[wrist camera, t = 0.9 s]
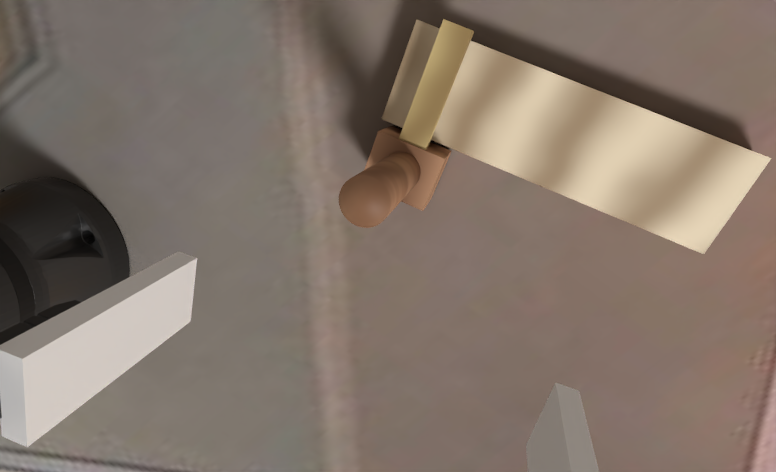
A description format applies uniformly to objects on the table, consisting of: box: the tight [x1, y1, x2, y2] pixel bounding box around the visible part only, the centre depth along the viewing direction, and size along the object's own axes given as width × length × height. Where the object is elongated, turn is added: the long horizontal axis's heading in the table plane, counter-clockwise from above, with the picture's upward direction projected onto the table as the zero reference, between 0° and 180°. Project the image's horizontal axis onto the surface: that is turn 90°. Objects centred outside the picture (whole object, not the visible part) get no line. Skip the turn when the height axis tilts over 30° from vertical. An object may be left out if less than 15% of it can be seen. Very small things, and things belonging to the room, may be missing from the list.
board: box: [382, 20, 771, 254], centre depth 32 cm, size 24×7×2 cm, turn 70°
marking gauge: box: [339, 19, 474, 228], centre depth 29 cm, size 5×12×13 cm, turn 160°
